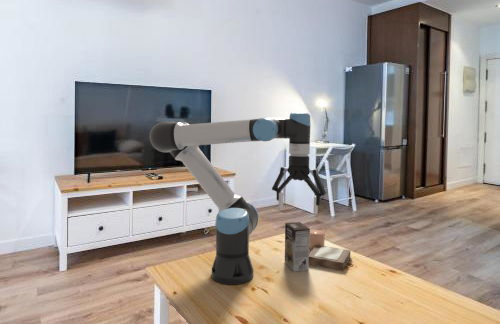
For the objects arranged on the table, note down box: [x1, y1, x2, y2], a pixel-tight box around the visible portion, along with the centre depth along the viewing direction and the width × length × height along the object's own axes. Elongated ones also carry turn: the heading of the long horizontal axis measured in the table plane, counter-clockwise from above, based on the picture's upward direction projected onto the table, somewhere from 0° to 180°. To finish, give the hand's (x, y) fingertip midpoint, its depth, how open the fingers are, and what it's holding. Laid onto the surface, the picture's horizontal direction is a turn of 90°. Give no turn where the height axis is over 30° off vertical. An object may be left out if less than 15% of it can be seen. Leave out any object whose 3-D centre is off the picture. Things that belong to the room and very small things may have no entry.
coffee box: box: [284, 221, 311, 272], centre depth 136 cm, size 9×6×16 cm
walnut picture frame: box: [309, 245, 351, 271], centre depth 142 cm, size 14×14×3 cm
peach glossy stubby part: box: [309, 229, 326, 251], centre depth 155 cm, size 7×7×7 cm
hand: (297, 211), depth 134 cm, fingers open, 13 cm apart
